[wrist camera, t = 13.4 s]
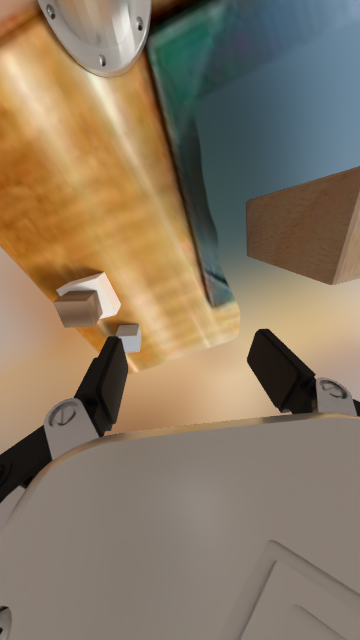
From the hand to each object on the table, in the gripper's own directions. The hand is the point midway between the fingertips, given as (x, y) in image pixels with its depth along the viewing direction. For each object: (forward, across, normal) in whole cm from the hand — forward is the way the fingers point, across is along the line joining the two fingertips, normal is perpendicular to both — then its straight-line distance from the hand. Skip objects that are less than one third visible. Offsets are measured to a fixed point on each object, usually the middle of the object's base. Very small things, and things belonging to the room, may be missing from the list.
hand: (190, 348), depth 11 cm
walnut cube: (+22, +17, +6) cm, 28 cm away
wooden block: (+26, -20, -8) cm, 34 cm away
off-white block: (+27, +17, +6) cm, 32 cm away
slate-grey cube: (+26, +11, +17) cm, 33 cm away
